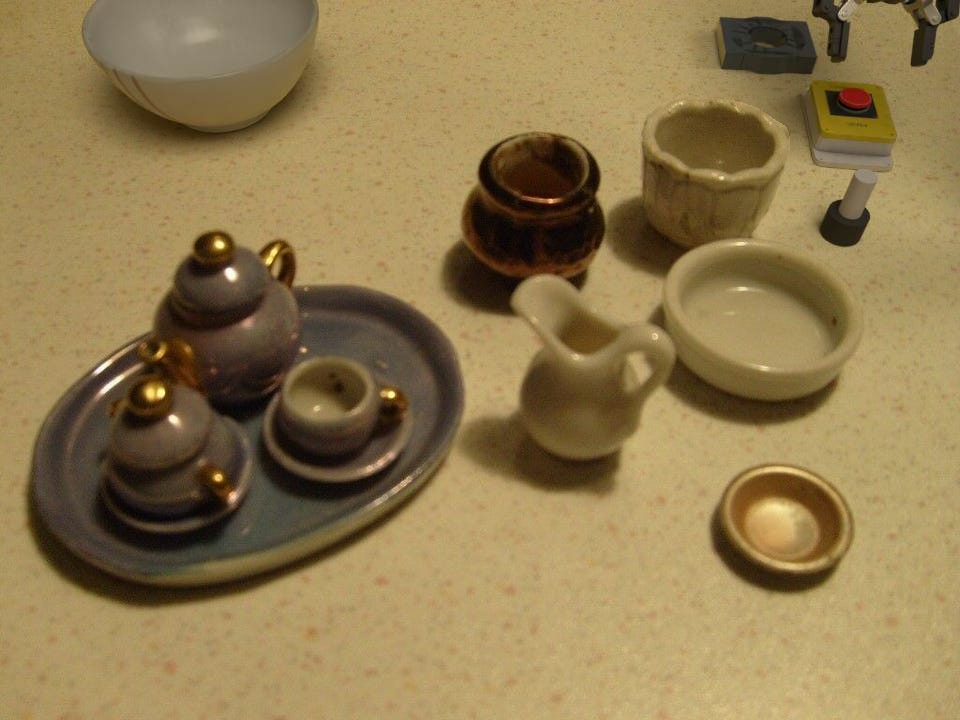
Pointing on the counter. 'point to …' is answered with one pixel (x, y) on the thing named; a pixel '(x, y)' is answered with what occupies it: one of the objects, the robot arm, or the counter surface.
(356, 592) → the counter surface
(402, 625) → the counter surface
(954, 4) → the robot arm
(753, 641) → the counter surface
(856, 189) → the stopper
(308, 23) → the decorative bowl
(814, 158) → the emergency button
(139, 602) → the counter surface
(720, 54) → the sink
